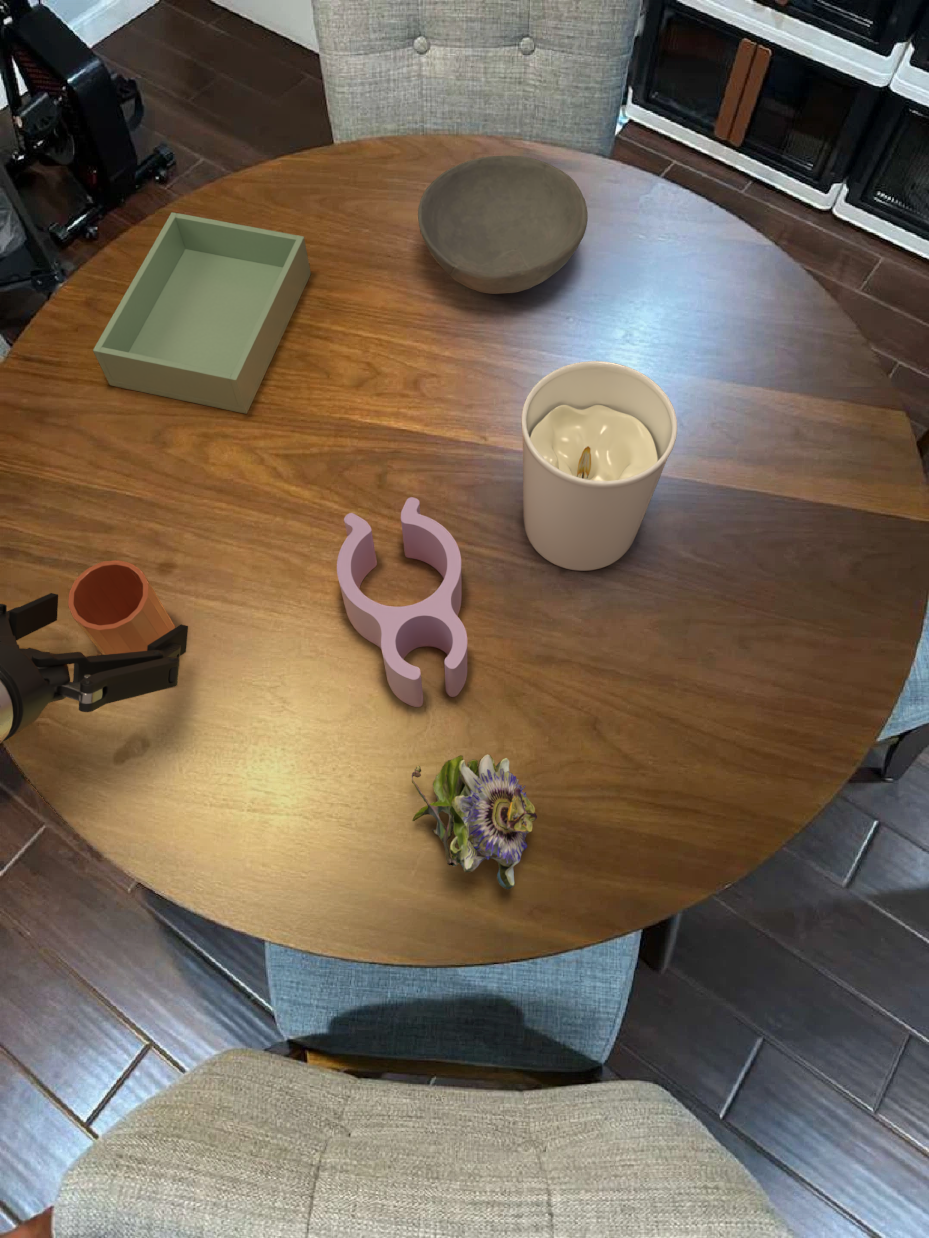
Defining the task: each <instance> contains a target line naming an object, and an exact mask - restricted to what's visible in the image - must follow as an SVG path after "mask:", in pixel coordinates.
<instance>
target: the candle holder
mask: <svg viewBox="0 0 929 1238" xmlns="http://www.w3.org/2000/svg"><path fill="white" fill-rule="evenodd" d="M521 410H522V411H521V417H520V419H521V420H520V426H521V427H520V428H521V432H522V509H523V526H524V530H525V533H526V536H527V540H528V541H529V544H530V545H531V546H532V547H533V549H534V550H535V551H536V552H537V553H538V554H539V555H540V556H541V557H542V558H544V559H545V560H546V561H548V562H550V563H551V564H553V565H555V566H557V567H559V568H563V569H565V570H570V571H571V570H572V571H577V572H583V571H584V572H585V571H586V572H587V571H595V570H599V569H602V568H605V567H608V566H610V565H612V564H614V563H615V562H617V561H618V560H620V559H621V558H622V557H623V556H624V555H625V554H626V553H628V551H629V550H630V548H631V547H632V544H633V543H634V541H635V539H636V536H637V535H638V532H639V530H640V528H641V525H642V523H643V520H644V518H645V516H646V513H647V511H648V507H649V506H650V504H651V501H652V498H653V495H654V493H655V491H656V488H657V486H658V483H659V481H660V478H661V476H662V473H663V471H664V468H665V466H666V463H667V461H668V458H669V457H670V455H671V454H672V451H673V449H674V447H675V444H676V442H677V436H678V420H677V419H678V418H677V414H676V411H675V408H674V405H673V404H672V402H671V400H670V398H669V396H668V395H667V394H666V392H665V391H664V390H663V388H661V386H660V385H658V383H656V382H655V381H654V380H653V379H652V378H650V377H649V376H647V375H646V374H644V373H642V372H641V371H638V370H637V369H635V368H632V367H629V366H628V365H627V366H626V365H624V364H621V363H616V362H610V361H601V360H588V361H586V360H585V361H579V362H575V363H570V364H567V365H564V366H561V367H559V368H557V369H555V370H553V371H551V372H550V373H548V374H546V375H545V376H543V377H542V378H540V380H539V381H538V382H536V383H535V385H534V386H533V387H532V388H531V389H530V391H529V393H528V395H527V396H526V398H525V400H524V403H523V406H522V409H521Z"/></svg>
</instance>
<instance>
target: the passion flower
mask: <svg viewBox="0 0 929 1238" xmlns="http://www.w3.org/2000/svg"><path fill="white" fill-rule="evenodd" d="M465 761H466V760H465V759H464V756H463V754H461V755H458V756H456V757H453V758H452V759H449V760H447V761H445V762H444V764H443V766H442V767H441V769H440V770H439V772H438V773H437V774H436V775H435V778H434V780H433V782H432V788H433V793H434V794H435V798H436V801H433V802H431V803H429V801H428V799H427V798H426V796H425V795H424V794H423V793H422V791H421V790H420V787H419V786H418V784H417V783H416V781H415V780H414V777H415V778H420V777H421V776H422V773H421V772H422V769H421V765H420V764H419V765H417V766H415V768H414V771H413V772H412V773H411V783H412V784H413V786H414V788H415V789H416V791H417V792H418V794H419V796H420V797H421V798H422V800H423V802H425V804H426V805H425V806H423V807H421V808H420V809H419V810H418V811H417V812H416V813H415V814H414V816H413V818H412V820H411V821H412V822H416V820H419V819H420V818H422V817H424V816H428V815H430V816H432V817H434V819H435V820H436V828H432V829H431V831H432V832H433V833H434V834H435V835H437V837H439V839H440V841H441V843H443V848H444V852H445V861H446V864H447V865H448V866H451V867H458V866H459V865H460V866H461V867H462V869H463V872H464V873H472V872H474V871H475V870H476V869H478V867H479V865H480V864H482V863H483V861H485V860H487V861H489V860H490V859H492V860H494V861H496V862H497V864H498V865H497V866H498V872H497V874H496V879H497V882H498V884H499V886H501V887H502V888H504V889H506V890H511V889H513V887H515V885H516V884H515V883H516V882H515V876H514V874H515V872H514V867H515V866H516V865H518V864H519V863H520V862H521V860H522V855H523V852H524V851H525V850H526V849H527V848H528V842H527V841H526V838H527V835H528V834H529V833H531V832H533V822H535V821H536V820H537V819H538V815H537V813H536V808H535V806H534V804H533V803H532V801H531V800H530V799H529V798H528V796H527V791H525V792H523V790H524V789H525V788H526V785H524V786H523V787H522V784H520V783H519V781H520V779H519V778H517V776H516V775H514V774H513V773H512V772H510V759H509V758H508V757H505V758H502V760H501V761H499V762H497V764H495V763H496V762H495V759H494V758H493V757H492V755H491V754H485V755H483V756H482V757H481V758H480V759H479V760H478V759H471V760H469V761H468V762H467V764H466V762H465ZM442 812H443V813H445V814H447V815H448V822H447V826H445V824H444V822H443V821H442V820H441V818H440V815H439V814H440V813H442ZM453 834H454V838H453V839H452V841H451V842H450V845H449V840H450V839H451V837H452V835H453ZM456 844H457V846H458V848H457V847H456Z"/></svg>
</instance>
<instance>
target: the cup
mask: <svg viewBox="0 0 929 1238" xmlns="http://www.w3.org/2000/svg"><path fill="white" fill-rule="evenodd" d="M162 603H163V602H162V601H161V600H160V598H159V596H158V595H157V593H156V591H155V589H154V588H153V586H152V585H151V583H150V582H149V580H148V578H147V576H146V575H145V573H144V572H143V570H141V569H140V568H139V567H137V566H136V565H134V564H133V563H131V562H127V561H123V560H118V559H115V560H114V559H113V560H105V561H100V562H99V563H96V564H94V565H92V566H90V567H88V568H86V569H85V570H84V571H83V572H82V573H81V574H79V576H77V577H76V578H75V580H74V582H73V584H72V585H71V588H70V589H69V592H68V602H67V605H68V609H69V612H70V613H71V616H72V618H73V619H74V621H75V622H76V623H77V625H78V626H79V627H80V628H81V629H82V631H83V632H84V633H85V634H86V637H88V638H89V639H90V641H91V642H92V643H93V644H94V646H95V647H96V648H97V649H98V651H99V652H100V653H101V655H108V654H118V653H129V652H139V651H147V646H148V645H149V644H150V643H152V642H154V641H155V640H157V639H158V638H160V637H162V636H163V635H165V634H166V633H168V632H170V631H171V630H173V629H174V628H176V627H177V626H176V625H175V623H174V622H173V620H172V618H171V617H170V615H169V613H168V612H167V610H166V608H165V607H164V605H163V604H162Z"/></svg>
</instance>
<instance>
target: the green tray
mask: <svg viewBox="0 0 929 1238" xmlns="http://www.w3.org/2000/svg"><path fill="white" fill-rule="evenodd" d="M311 274H312V272H311V267H310V262H309V256H308V250H307V245H306V240H305V236H303V235H297V234H292V233H288V232H282V231H276V230H271V229H265V228H260V227H254V226H249V225H244V224H239V223H233V222H227V221H222V220H216V219H211V218H207V217H201V216H195V215H189V214H184V213H179V212H178V213H177V212H172V211H171V212H170V214H169V216H168V217H167V220H166V221H165V223H164V225H163V227H162V228H161V230H160V232H159V234H158V235H157V237H156V239H155V241H154V242H153V244H152V246H151V248H150V249H149V251H148V252H147V254H146V256H145V258H144V260H143V261H142V263H141V265H140V266H139V269H138V270H137V272H136V274H135V276H134V277H133V279H132V281H131V283H130V284H129V286H128V288H127V289H126V292H125V293H124V295H123V296H122V299H121V300H120V302H119V303H118V305H117V307H116V309H115V310H114V312H113V314H112V316H111V317H110V319H109V321H108V323H107V325H106V326H105V328H104V330H103V331H102V333H101V335H100V337H99V338H98V341H97V342H96V344H95V346H94V347H93V349H92V352H93V354H94V356H95V358H96V360H97V362H98V364H99V366H100V368H101V371H102V372H103V374H104V376H105V378H106V380H107V383H108V384H109V385H108V386H112V387H116V388H120V389H121V388H122V389H125V390H131V391H136V392H140V393H145V394H150V395H155V396H159V397H163V398H164V397H165V398H168V399H169V398H170V399H174V400H177V401H183V402H187V403H193V404H198V405H202V406H203V405H204V406H207V407H211V408H215V409H216V408H217V409H222V410H227V411H231V412H235V413H241V414H245V415H247V414H248V412H249V410H250V408H251V407H252V404H253V402H254V399H255V398H256V395H257V393H258V391H259V389H260V387H261V384H262V382H263V379H264V377H265V375H266V373H267V372H268V368H269V366H270V364H271V362H272V360H273V358H274V356H275V353H276V351H277V350H278V347H279V344H280V343H281V341H282V338H283V336H284V334H285V331H286V329H287V327H288V325H289V322H290V320H291V319H292V316H293V315H294V312H295V310H296V308H297V305H298V303H299V301H300V299H301V297H302V294H303V293H304V290H305V288H306V286H307V283H308V281H309V279H310V277H311Z"/></svg>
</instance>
